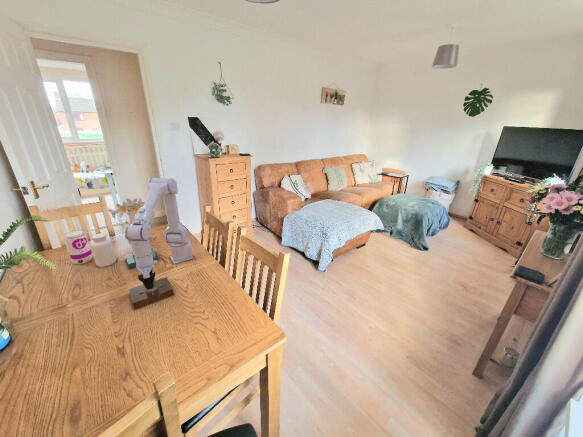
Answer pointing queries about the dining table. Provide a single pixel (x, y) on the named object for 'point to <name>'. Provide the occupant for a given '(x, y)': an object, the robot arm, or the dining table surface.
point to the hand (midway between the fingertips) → (149, 283)
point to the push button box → (132, 261)
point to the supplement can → (78, 246)
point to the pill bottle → (102, 250)
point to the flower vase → (128, 208)
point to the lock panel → (151, 293)
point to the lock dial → (153, 287)
